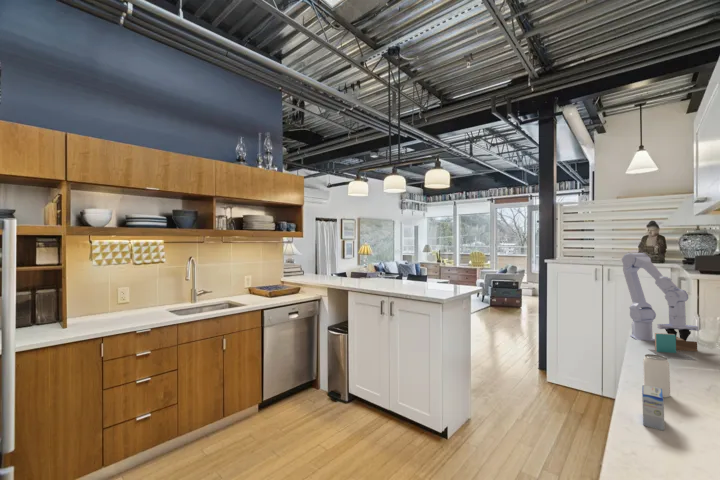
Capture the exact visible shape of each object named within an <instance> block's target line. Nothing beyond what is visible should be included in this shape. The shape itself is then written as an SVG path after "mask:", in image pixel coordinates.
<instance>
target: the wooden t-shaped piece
mask: <svg viewBox="0 0 720 480" xmlns="http://www.w3.org/2000/svg"><path fill="white" fill-rule="evenodd" d="M676 351H685V352H698V342H697V341H693V340H692V341H691V340H686V341H685V340H683V339H681V338H680V336H677V335H676Z"/></svg>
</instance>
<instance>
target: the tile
mask: <svg viewBox="0 0 720 480" xmlns="http://www.w3.org/2000/svg"><path fill="white" fill-rule="evenodd" d="M676 336H677V335H675V334H668V333H658V332H654V339H655V341H654V346H655V348H654V350H655V351H656V352H669V353H676V351H677V350H676Z"/></svg>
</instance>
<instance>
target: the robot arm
mask: <svg viewBox="0 0 720 480" xmlns="http://www.w3.org/2000/svg"><path fill="white" fill-rule="evenodd" d="M621 261H622V271H623V274H624V278H625V282H626V285H627V288H628V291H629V292H628V293H629V294H630V298H631V302H632V303H631V305H630V306H629V307H628V308H629V316H630V319H631V320H632V323H631V334H629V336H630V337H631V338H633V339H635V340H637V341H652V342H655V338H654V337H653V336H654V335H653V322H654V320H655V319H656V318H657V317H656V316H657V314H656V311H655V310H654V309H653V306H652V304H650V303H648V302H647V300H646V297H645V294H644V291H643V287H642V283H641V281H640V278H639V275H638V271H639V270H640V269H644V270H645V271H646V272H647V274H649V275H650V276H651V277H652V278H653V279H654V283H655V285H656V286H657V287H658V288H659V289H660V290H661V291H662V293H664V299H665V300H666V302H667V305H668V323H664V324H663V323H657V324H656V325H657V328H658V330H665V332H666V334H675V335H676V336H677V334H679V338H681V339H683V340H685V341H688V338H689V336H690V335H691V334H692V332H691V331H696V332H699V331H700V330H699V326H697V325H691V324H690V325H688V324H687V320H686V317H687V316H686V315H687V313H686V302H687V301H688V299H689V294H688V292H687V291H686V290H685V289H681V288H680V287H679V286H677V285H676V284H675V283H674V282H673V281H672V278H671V277H668V276H664V275H663V274H662V273H661V272H660V270H658V268H657V267H656V266H655V265H654V263H653V262H652V258H651V257H650V256H649V255H648V254H647V253H645V252H637V253H636V252H633V253H632V252H628V253H625V254H624V255H623V256H622V258H621ZM676 330H678V331H676Z"/></svg>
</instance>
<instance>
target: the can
mask: <svg viewBox="0 0 720 480" xmlns="http://www.w3.org/2000/svg"><path fill="white" fill-rule="evenodd" d="M642 365H643V369H642V370H643V385H646V386H652V387H656V388H660V389H662V391H663V399H664V398H669V397H671V380H670V379H671V377H670V373H671V372H670V363H669V361H668V358H666V357H663V356H659V355H656V354H652V353H651V354H650V353H649V354H647V353H646V354H645V355H644V358H643V362H642Z"/></svg>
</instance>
